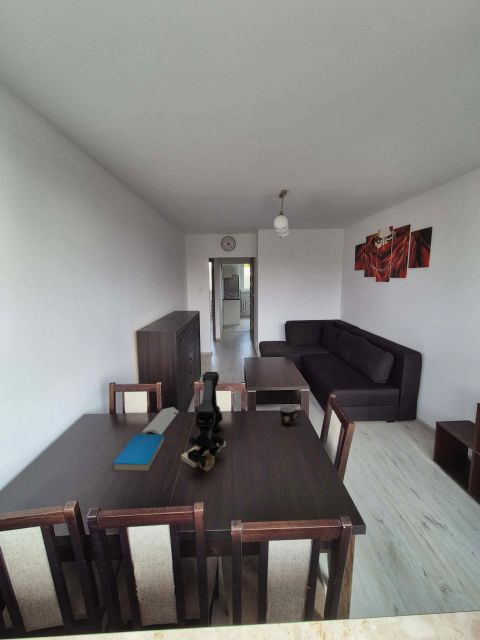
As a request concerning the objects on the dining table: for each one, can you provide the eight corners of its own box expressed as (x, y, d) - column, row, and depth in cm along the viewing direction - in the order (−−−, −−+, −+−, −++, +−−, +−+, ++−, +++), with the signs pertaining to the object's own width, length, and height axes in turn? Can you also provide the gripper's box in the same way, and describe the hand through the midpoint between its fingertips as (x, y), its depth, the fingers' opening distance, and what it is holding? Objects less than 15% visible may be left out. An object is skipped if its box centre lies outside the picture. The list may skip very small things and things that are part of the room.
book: (164, 434, 153) (148, 463, 129) (164, 441, 154) (149, 471, 129) (133, 434, 154) (112, 462, 129) (134, 441, 154) (112, 471, 129)
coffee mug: (277, 425, 169) (277, 409, 167) (283, 419, 176) (283, 404, 174) (295, 430, 162) (295, 414, 161) (300, 424, 169) (301, 409, 168)
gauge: (207, 461, 135) (206, 450, 134) (214, 466, 132) (214, 454, 131) (199, 467, 131) (199, 455, 130) (207, 471, 128) (206, 460, 127)
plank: (212, 439, 154) (212, 435, 153) (225, 446, 148) (225, 441, 147) (181, 459, 137) (180, 455, 136) (194, 467, 131) (194, 463, 130)
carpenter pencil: (207, 440, 149) (207, 439, 148) (209, 441, 148) (209, 440, 148) (190, 454, 137) (190, 453, 137) (191, 455, 136) (191, 454, 136)
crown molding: (161, 411, 189) (161, 406, 189) (178, 412, 188) (178, 407, 187) (141, 434, 161) (140, 428, 160) (161, 435, 159) (161, 430, 159)
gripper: (208, 420, 141) (208, 448, 143) (179, 436, 127) (180, 468, 129) (224, 427, 134) (225, 457, 136) (195, 445, 120) (196, 478, 122)
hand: (207, 464), depth 131 cm, fingers closed on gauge, 5 cm apart
